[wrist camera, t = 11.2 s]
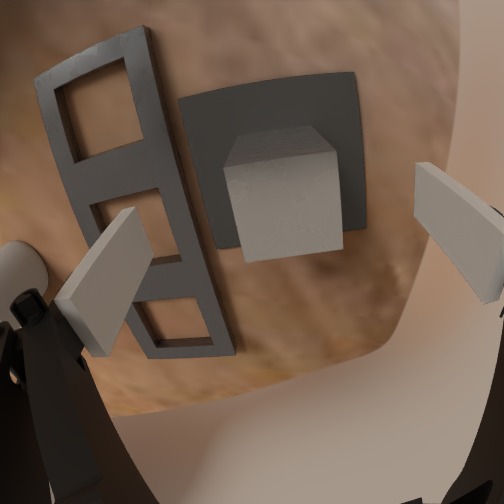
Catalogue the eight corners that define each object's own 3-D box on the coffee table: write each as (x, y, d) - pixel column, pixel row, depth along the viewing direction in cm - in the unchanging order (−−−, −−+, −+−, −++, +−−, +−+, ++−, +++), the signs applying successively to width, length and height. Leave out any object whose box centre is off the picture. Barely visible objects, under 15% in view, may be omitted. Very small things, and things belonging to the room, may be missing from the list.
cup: (49, 251, 26) (0, 307, 19) (54, 316, 31) (20, 371, 24) (1, 229, 25) (-49, 276, 17) (11, 295, 30) (-25, 343, 22)
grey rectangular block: (237, 136, 20) (223, 167, 13) (310, 125, 19) (336, 151, 13) (251, 202, 23) (245, 262, 16) (318, 192, 22) (343, 249, 15)
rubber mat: (179, 98, 19) (177, 99, 19) (352, 71, 18) (354, 71, 17) (217, 246, 25) (216, 249, 25) (364, 226, 24) (366, 228, 23)
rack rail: (42, 77, 17) (33, 78, 16) (149, 27, 16) (143, 25, 15) (150, 351, 33) (148, 358, 32) (236, 346, 31) (235, 355, 30)
